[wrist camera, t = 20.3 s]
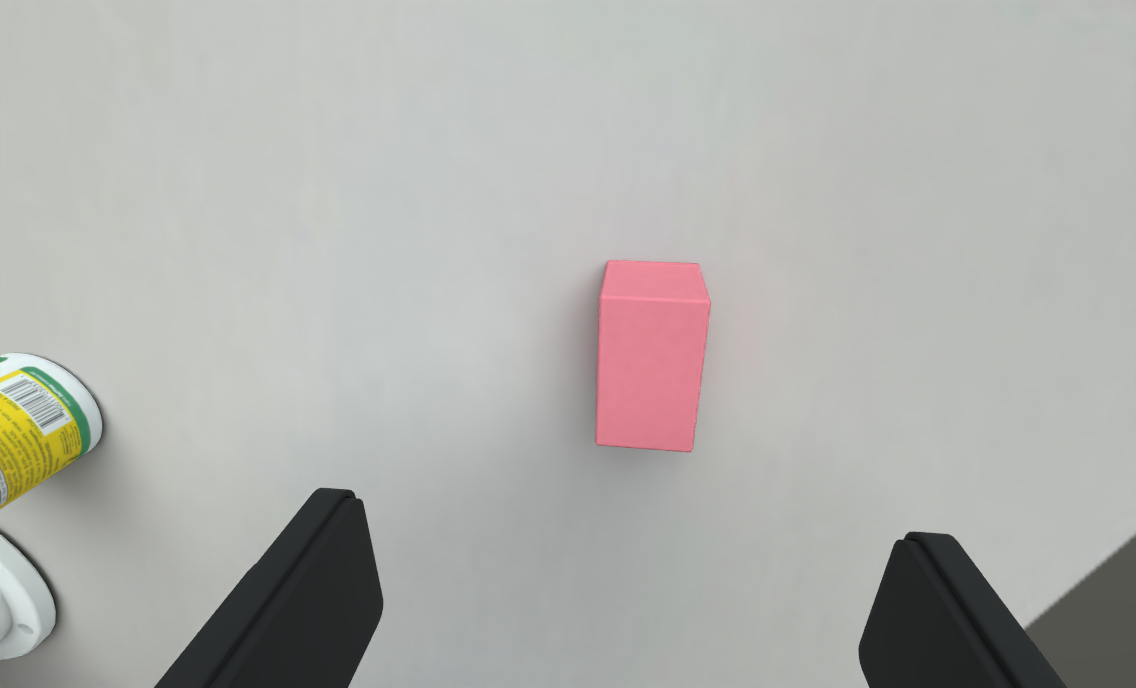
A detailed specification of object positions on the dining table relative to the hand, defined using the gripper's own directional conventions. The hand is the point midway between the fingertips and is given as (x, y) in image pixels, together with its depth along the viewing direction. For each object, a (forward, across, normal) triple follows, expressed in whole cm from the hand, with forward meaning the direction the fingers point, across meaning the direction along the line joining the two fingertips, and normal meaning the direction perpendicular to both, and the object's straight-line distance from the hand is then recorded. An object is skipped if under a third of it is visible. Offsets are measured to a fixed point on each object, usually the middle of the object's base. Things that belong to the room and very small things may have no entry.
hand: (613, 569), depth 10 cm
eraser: (+10, -1, 0) cm, 10 cm away
